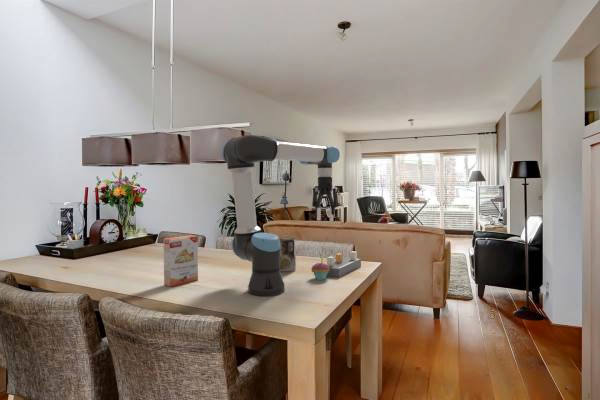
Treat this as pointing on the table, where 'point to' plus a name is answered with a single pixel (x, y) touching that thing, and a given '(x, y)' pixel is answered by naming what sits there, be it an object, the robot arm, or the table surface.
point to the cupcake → (320, 270)
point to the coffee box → (287, 254)
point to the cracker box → (180, 260)
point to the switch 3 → (353, 255)
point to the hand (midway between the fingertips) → (325, 220)
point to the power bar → (344, 267)
